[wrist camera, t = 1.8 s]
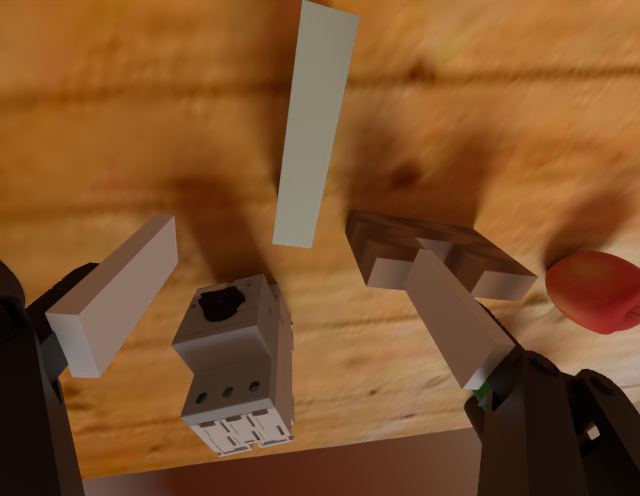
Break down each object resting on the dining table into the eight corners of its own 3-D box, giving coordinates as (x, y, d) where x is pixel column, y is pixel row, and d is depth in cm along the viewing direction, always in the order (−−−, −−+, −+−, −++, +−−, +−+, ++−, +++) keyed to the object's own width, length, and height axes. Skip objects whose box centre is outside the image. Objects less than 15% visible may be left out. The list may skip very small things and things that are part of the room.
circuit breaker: (261, 243, 31) (242, 350, 18) (293, 324, 38) (294, 441, 25) (200, 257, 31) (137, 373, 18) (243, 336, 38) (220, 458, 26)
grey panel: (304, 202, 29) (311, 248, 20) (277, 197, 28) (272, 243, 20) (332, 46, 22) (360, 16, 13) (297, 36, 21) (302, -1, 13)
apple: (525, 300, 41) (588, 356, 32) (527, 253, 36) (602, 304, 27) (589, 279, 39) (672, 330, 31) (600, 227, 35) (702, 271, 26)
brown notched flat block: (345, 233, 31) (366, 286, 23) (351, 210, 30) (376, 257, 21) (462, 249, 34) (519, 301, 26) (473, 228, 33) (538, 276, 24)
